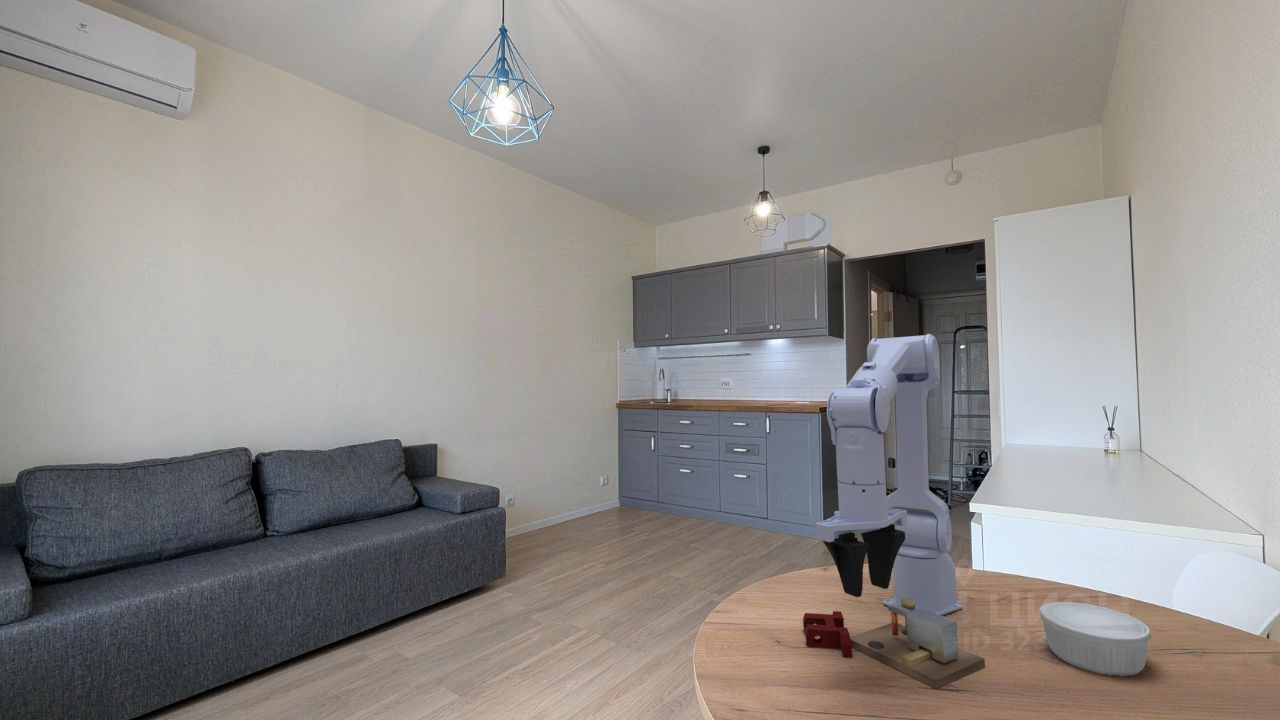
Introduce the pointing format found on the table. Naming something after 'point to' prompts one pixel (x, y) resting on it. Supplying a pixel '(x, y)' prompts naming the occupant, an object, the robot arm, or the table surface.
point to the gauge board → (914, 654)
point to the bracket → (827, 632)
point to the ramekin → (1096, 637)
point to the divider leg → (928, 632)
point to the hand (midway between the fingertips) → (866, 590)
